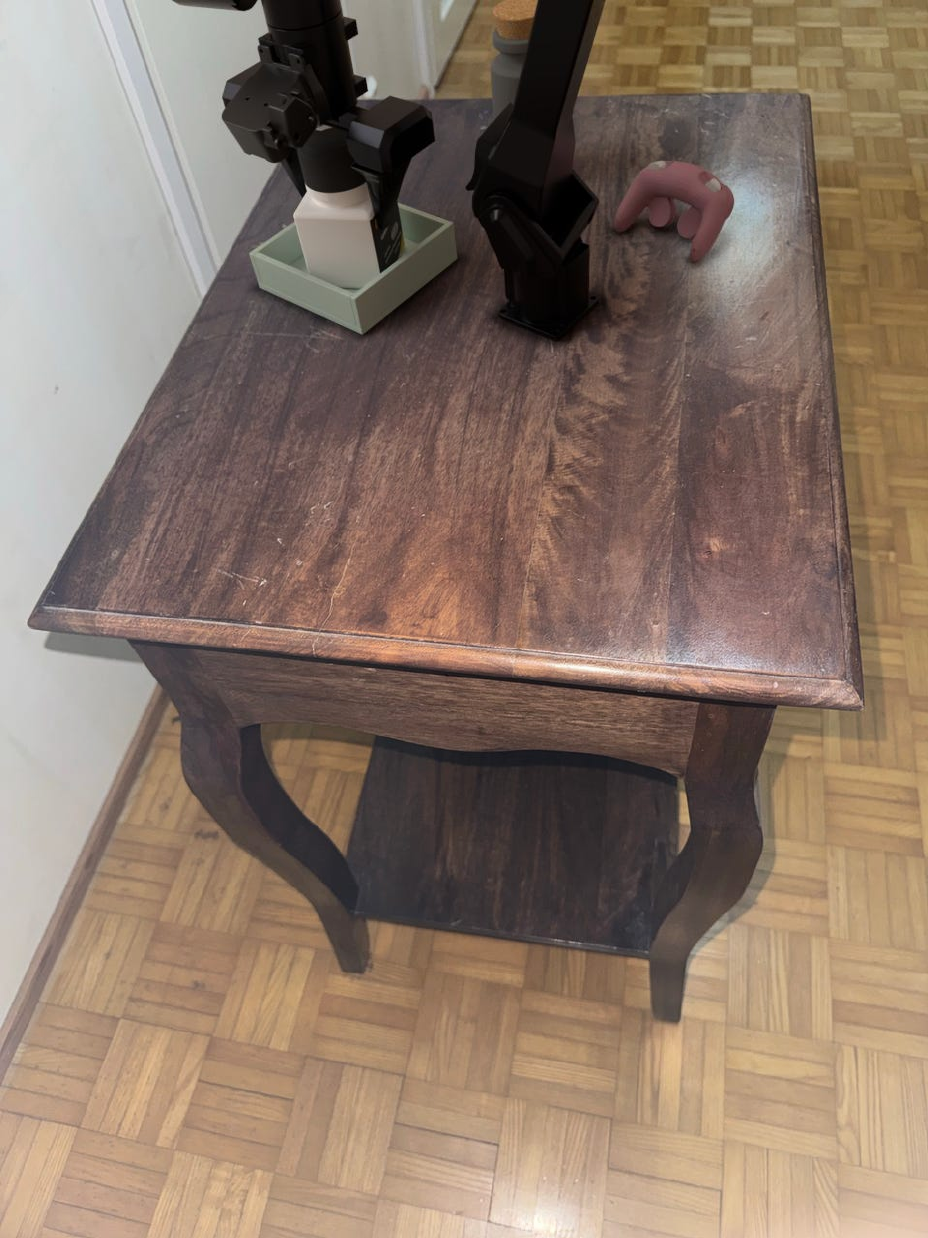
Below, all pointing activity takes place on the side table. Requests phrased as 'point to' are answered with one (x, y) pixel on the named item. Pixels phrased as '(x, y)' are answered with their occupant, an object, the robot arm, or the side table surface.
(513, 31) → the bottle
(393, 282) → the tray
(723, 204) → the video game controller
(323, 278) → the medicine bottle
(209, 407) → the side table surface
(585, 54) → the robot arm
